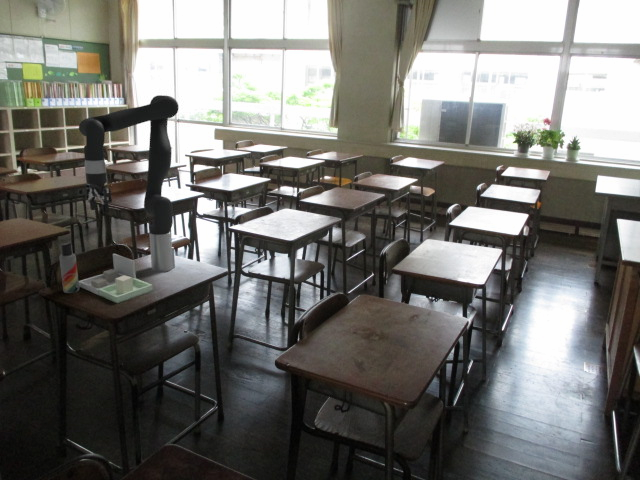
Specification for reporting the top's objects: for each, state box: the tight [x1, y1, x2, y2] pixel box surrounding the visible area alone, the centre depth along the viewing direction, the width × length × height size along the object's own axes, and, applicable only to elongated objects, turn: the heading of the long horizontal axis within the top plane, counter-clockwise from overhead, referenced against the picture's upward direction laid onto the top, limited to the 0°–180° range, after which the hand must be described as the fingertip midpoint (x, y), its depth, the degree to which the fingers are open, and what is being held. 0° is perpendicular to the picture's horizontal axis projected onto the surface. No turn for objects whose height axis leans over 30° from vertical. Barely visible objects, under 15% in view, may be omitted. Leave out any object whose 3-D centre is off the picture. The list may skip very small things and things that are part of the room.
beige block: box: [115, 275, 133, 294], centre depth 200 cm, size 4×4×6 cm
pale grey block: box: [91, 278, 107, 289], centre depth 203 cm, size 4×4×4 cm
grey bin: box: [78, 273, 126, 296], centre depth 209 cm, size 16×14×2 cm
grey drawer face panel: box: [112, 253, 137, 279], centre depth 215 cm, size 1×14×10 cm, turn 54°
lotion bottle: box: [58, 241, 80, 294], centre depth 199 cm, size 6×6×20 cm
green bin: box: [98, 277, 154, 304], centre depth 201 cm, size 16×12×3 cm
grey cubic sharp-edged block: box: [102, 268, 118, 283], centre depth 213 cm, size 4×4×4 cm
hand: (99, 211), depth 205 cm, fingers open, 8 cm apart
